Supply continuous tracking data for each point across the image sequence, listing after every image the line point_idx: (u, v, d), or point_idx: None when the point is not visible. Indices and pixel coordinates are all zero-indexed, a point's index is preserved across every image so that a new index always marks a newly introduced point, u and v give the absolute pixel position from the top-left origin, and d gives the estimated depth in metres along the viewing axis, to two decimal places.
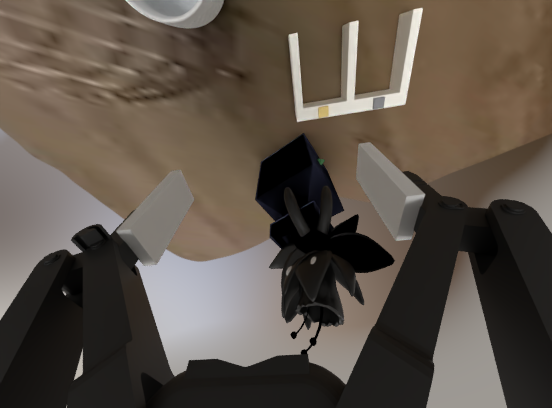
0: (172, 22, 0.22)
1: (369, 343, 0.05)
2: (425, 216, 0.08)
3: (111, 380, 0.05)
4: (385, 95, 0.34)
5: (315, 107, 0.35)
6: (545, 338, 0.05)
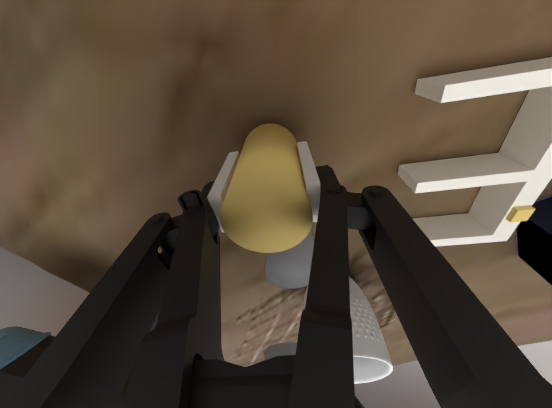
0: (391, 371, 0.26)
1: (302, 325, 0.05)
2: (320, 203, 0.10)
3: (170, 352, 0.05)
4: None
5: (502, 221, 0.23)
6: (419, 291, 0.06)
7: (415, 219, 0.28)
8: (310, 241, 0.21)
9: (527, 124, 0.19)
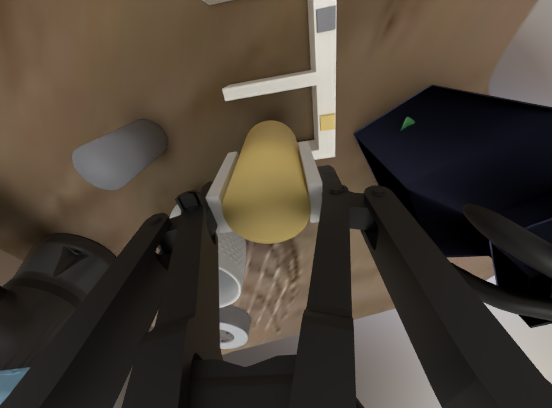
0: (240, 286, 0.28)
1: (304, 326, 0.05)
2: (322, 203, 0.10)
3: (169, 352, 0.05)
4: (314, 5, 0.19)
5: (319, 133, 0.25)
6: (421, 291, 0.06)
7: None
8: (126, 144, 0.22)
9: (310, 32, 0.22)
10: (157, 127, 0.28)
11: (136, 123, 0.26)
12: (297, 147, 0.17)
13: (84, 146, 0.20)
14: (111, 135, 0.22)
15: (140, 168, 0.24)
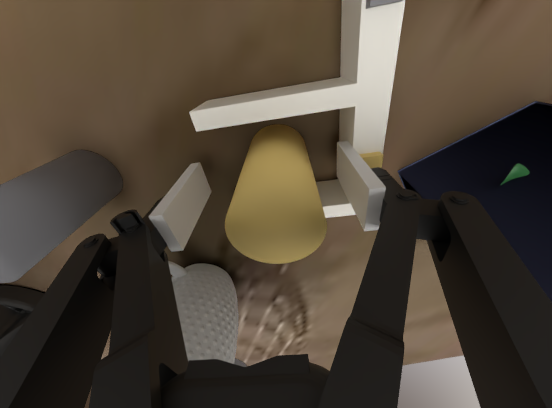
0: None
1: (346, 333, 0.05)
2: (386, 208, 0.09)
3: (131, 368, 0.05)
4: None
5: None
6: (496, 315, 0.05)
7: None
8: (25, 207, 0.13)
9: (347, 11, 0.12)
10: (102, 161, 0.19)
11: (65, 159, 0.17)
12: (307, 153, 0.15)
13: None
14: None
15: (60, 238, 0.15)
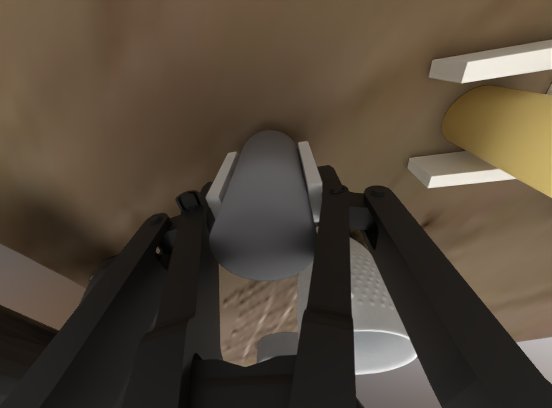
0: None
1: (304, 325, 0.05)
2: (322, 203, 0.10)
3: (169, 352, 0.05)
4: None
5: None
6: (421, 292, 0.06)
7: (447, 154, 0.21)
8: (301, 188, 0.11)
9: None
10: (294, 143, 0.16)
11: (273, 138, 0.15)
12: None
13: (253, 206, 0.08)
14: (271, 169, 0.11)
15: None
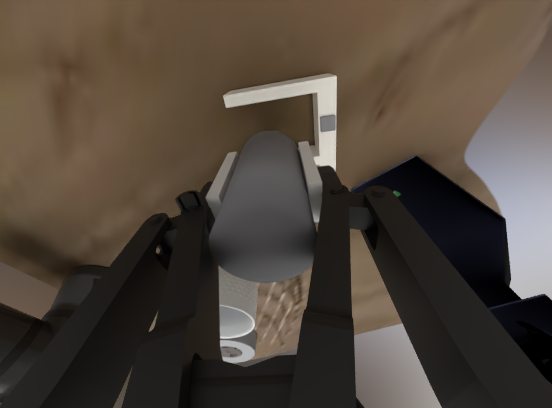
0: (254, 321, 0.33)
1: (304, 325, 0.05)
2: (322, 203, 0.10)
3: (169, 352, 0.05)
4: (319, 113, 0.23)
5: None
6: (421, 291, 0.06)
7: None
8: (301, 189, 0.11)
9: (315, 123, 0.26)
10: (294, 143, 0.16)
11: (272, 139, 0.15)
12: None
13: (253, 208, 0.08)
14: (271, 170, 0.11)
15: None
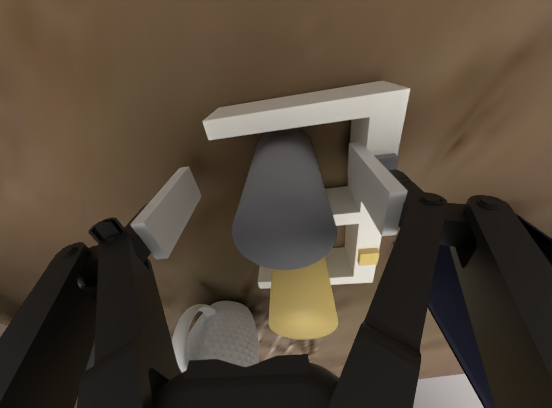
0: None
1: (359, 338, 0.05)
2: (408, 212, 0.08)
3: (120, 374, 0.05)
4: None
5: (356, 263, 0.20)
6: (522, 327, 0.05)
7: None
8: (319, 181, 0.11)
9: None
10: (308, 138, 0.17)
11: (289, 133, 0.15)
12: None
13: (276, 196, 0.09)
14: (290, 162, 0.11)
15: None
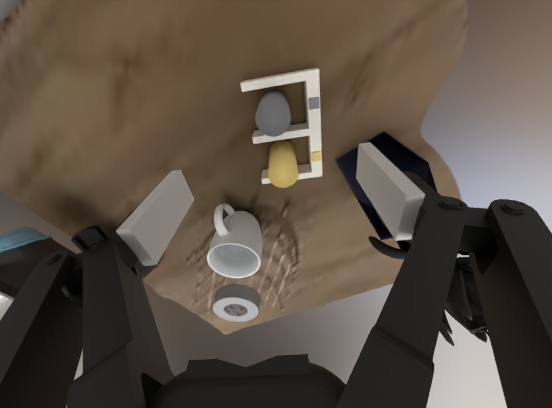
0: (260, 260, 0.42)
1: (369, 343, 0.05)
2: (425, 216, 0.08)
3: (111, 380, 0.05)
4: (307, 96, 0.33)
5: (312, 162, 0.39)
6: (545, 338, 0.05)
7: None
8: (286, 102, 0.30)
9: (305, 104, 0.36)
10: None
11: (275, 91, 0.34)
12: (294, 151, 0.40)
13: (270, 100, 0.28)
14: (275, 95, 0.30)
15: None
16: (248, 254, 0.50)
